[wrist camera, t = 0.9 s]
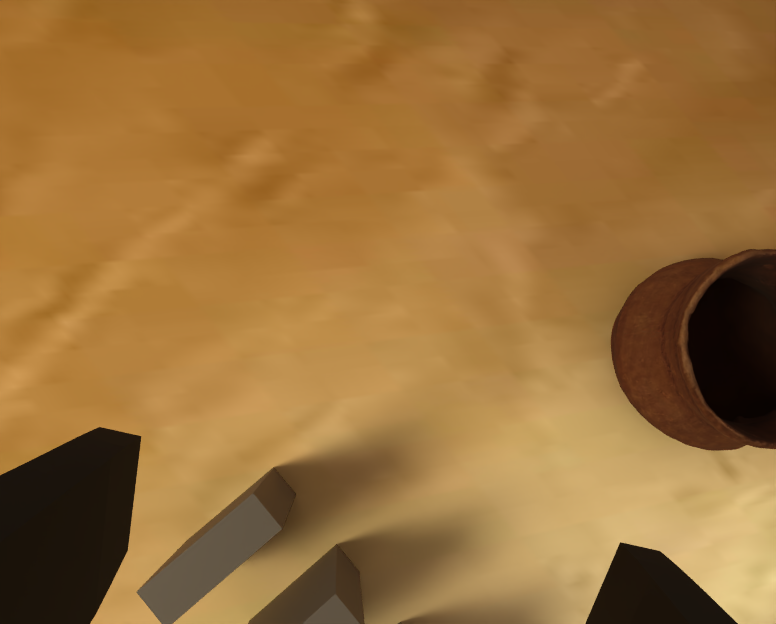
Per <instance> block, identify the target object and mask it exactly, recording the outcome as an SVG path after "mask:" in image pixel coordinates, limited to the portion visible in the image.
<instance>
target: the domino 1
mask: <svg viewBox="0 0 776 624" xmlns="http://www.w3.org/2000/svg"><path fill="white" fill-rule="evenodd" d="M295 496H296V494H295V493H294V491H293V490H292V489H291V488H290V487H289V485H288V484H287V483H286V482H285V480H284V479H283V478H282V477H281V476H280V474H279V473H278V472H277V471H276V469H275V468H274V467H273V468H272V469H271V470H270V471H269V472H267V473H266V474H265V475H264V476H263V477H262V478H260V479H259V480H258V481H257V482H256V483H254V484H253V485H252V486H251V487H250V488H249V489H247V490H246V491H245V492H244V493H243V494H241V495H240V496H239V497H238V498H237V499H235V500H234V501H233V502H232V503H231V504H230V505H228V506H227V507H226V508H225V509H224V510H222V511H221V512H220V513H219V514H218V515H217V516H215V517H214V518H213V519H212V520H211V521H209V522H208V523H207V524H206V525H205V526H204V527H202V528H201V529H200V530H199V531H198V532H196V533H195V534H194V535H193V536H192V537H191V538H189V539H188V540H187V541H186V542H185V543H184V544H183V545H182V546H181V547H180V548H179V549H178V550H177V551H176V552H175V553H174V554H173V555H172V556H171V557H170V558H169V559H168V560H167V561H166V562H165V563H164V564H163V565H162V566H161V567H160V568H159V569H158V570H157V571H156V572H155V573H154V574H153V575H152V576H151V578H150V579H149V580H148V581H147V582H146V583H145V584H144V585H143V586H142V587H141V588H140V589H139V590H138V591H137V593H138V595H139V596H140V597H141V598H142V600H143V601H144V602H145V603H146V605H147V606H148V607H149V608H150V610H151V611H152V612H153V613H154V615H155V616H156V617H157V618H158V620H159V621H160V622H161V623H162V624H173V623H174V622H175V621H176V620H177V619H178V618H179V617H181V616H182V615H183V614H184V613H185V612H186V611H188V610H189V609H190V608H191V607H192V606H193V605H195V604H196V603H197V602H198V601H199V600H200V599H202V598H203V597H204V596H205V595H206V594H207V593H208V592H210V591H211V590H212V589H213V588H214V587H215V586H217V585H218V584H219V583H220V582H221V581H222V580H224V579H225V578H226V577H227V576H228V575H229V574H231V573H232V572H233V571H234V570H235V569H236V568H237V567H239V566H240V565H241V564H242V563H243V562H244V561H246V560H247V559H248V558H249V557H250V556H251V555H253V554H254V553H255V552H256V551H257V550H258V549H260V548H261V547H262V546H263V545H264V544H265V543H266V542H268V541H269V540H270V539H271V538H272V537H273V536H275V535H276V534H277V533H278V532H279V531H280V530H282V528H283V526H284V523H285V521H286V518H287V516H288V513H289V511H290V508H291V506H292V503H293V501H294V498H295Z"/></svg>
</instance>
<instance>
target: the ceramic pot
mask: <svg viewBox="0 0 776 624" xmlns="http://www.w3.org/2000/svg"><path fill="white" fill-rule="evenodd" d="M611 352H612V360H613V365H614V369H615V373H616V376H617V379H618V381H619V384H620V387H621V388H622V390H623V392H624V393H625V395H626V396H627V398H628V400H629V401H630V403H631V404H632V405H633V406H634V407H635V408H636V410H637V411H638V412H639V413H640V414H641V415H642V416H643V417H644V418H645V419H646V420H647V421H648V422H649V423H651V424H652V425H653V426H654V427H656V428H657V429H659V430H660V431H662V432H663V433H664V434H666V435H668V436H669V437H671V438H673V439H676V440H678V441H680V442H682V443H684V444H686V445H689V446H693V447H697V448H701V449H705V450H733V449H738V448H741V447H743V446H745V445H749V446H753V447H758V448H768V449H776V250H773V249H764V250H755V249H749V250H746V251H742V252H740V253H738V254H735V255H732V256H730V257H728V258H726V259H725V260H720V259H714V258H700V259H691V260H686V261H682V262H678V263H675V264H672V265H669V266H666V267H664V268H662V269H660V270H658V271H657V272H655V273H654V274H652V275H651V276H650V277H648V278H647V279H646V280H645V281H643V282H642V283H641V284H639V285H638V286H637V287H636V288H635V289H634V291H633V292H632V293H631V294H630V296H629V297H628V298H627V300H626V302H625V304H624V306H623V307H622V309H621V311H620V313H619V314H618V316H617V318H616V320H615V323H614V326H613V329H612V335H611Z"/></svg>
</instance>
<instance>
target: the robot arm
mask: <svg viewBox="0 0 776 624" xmlns="http://www.w3.org/2000/svg"><path fill="white" fill-rule="evenodd" d="M140 442H141V436H137V435H133V434H128V433H124V432H119V431H115V430H110V429H106V428H101V427H99V428H97V429H94V430H92V431H90V432H88V433H85V434H83V435H81V436H79V437H77V438H75V439H73V440H71V441H69V442H67V443H65V444H63V445H61V446H59V447H57V448H55V449H53V450H51V451H49V452H47V453H45V454H43V455H41V456H39V457H37V458H35V459H33V460H31V461H29V462H27V463H25V464H23V465H21V466H19V467H17V468H15V469H13V470H10V471H8V472H6V473H4V474H2V475H0V624H90V623H91V621H92V619H93V618H94V616H95V615H96V613H97V611H98V609H99V607H100V605H101V603H102V601H103V599H104V597H105V595H106V593H107V591H108V589H109V587H110V585H111V583H112V581H113V579H114V577H115V575H116V573H117V571H118V569H119V567H120V565H121V563H122V561H123V559H124V557H125V555H126V553H127V551H128V543H129V535H130V526H131V518H132V510H133V501H134V493H135V484H136V476H137V468H138V459H139V451H140ZM586 624H738V623H736V622H735V621H734V620H733V619H732V618H731V617H730V616H729V615H728V614H727V613H726V612H725V611H724V610H723V609H722V608H721V607H720V606H719V605H718V604H717V603H716V602H715V601H714V600H713V599H712V598H711V597H710V596H709V595H708V594H707V593H706V592H705V591H704V590H703V589H701V588H700V587H699V586H698V585H697V584H696V583H695V582H694V581H693V580H692V579H691V578H690V577H689V576H688V575H687V574H686V573H684V572H683V571H682V570H681V569H680V568H679V567H678V566H677V565H676V564H675V563H673V562H672V561H671V560H670V559H669V558H667V557H666V556H665V555H664V554H663V553H661V552H660V551H657V550H652V549H648V548H643V547H639V546H634V545H630V544H625V543H621V542H620V544H619V547H618V549H617V551H616V554H615V556H614V558H613V561H612V563H611V565H610V568H609V570H608V572H607V575H606V577H605V579H604V582H603V584H602V586H601V589H600V591H599V593H598V596H597V598H596V600H595V603H594V605H593V607H592V610H591V612H590V614H589V617H588V619H587V621H586Z"/></svg>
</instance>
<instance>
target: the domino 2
mask: <svg viewBox="0 0 776 624" xmlns="http://www.w3.org/2000/svg"><path fill="white" fill-rule="evenodd" d="M248 624H364V614H363V604H362V594H361V584H360V574H359V571H358V569H357V568H356V567H355V566H354V565H353V563H352V562H351V561H350V560H349V558H348V557H347V556H346V555H345V554H344V552H343V551H342V550H341V549H340V547H339V546H338V545H337V544H336V545H335V546H334V547H333V548H332V549H331V550H329V551H328V552H327V553H326V554H325V555H324V556H323V557H321V558H320V559H319V560H318V561H317V562H316V563H315V564H314V565H312V566H311V567H310V568H309V569H308V570H307V571H306V572H304V573H303V574H302V575H301V576H300V577H299V578H298V579H296V580H295V581H294V582H293V583H292V584H291V585H290V586H288V587H287V588H286V589H285V590H284V591H283V592H282V593H280V594H279V595H278V596H277V597H276V598H275V599H274V600H273V601H271V602H270V603H269V604H268V605H267V606H266V607H265V608H263V609H262V610H261V611H260V612H259V613H258V614H257V615H255V616H254V617H253V618H252V619H251V620H250V621H249V623H248Z"/></svg>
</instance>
